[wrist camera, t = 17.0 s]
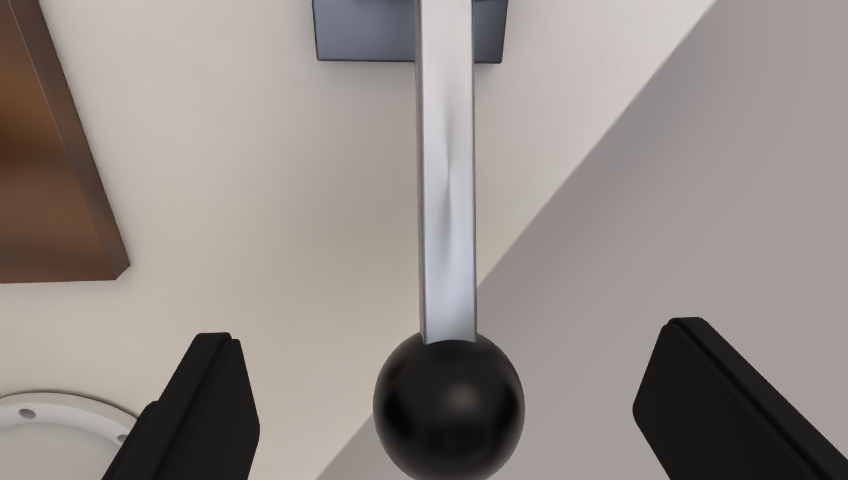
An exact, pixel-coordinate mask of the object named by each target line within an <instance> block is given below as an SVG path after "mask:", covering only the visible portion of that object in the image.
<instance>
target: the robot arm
mask: <svg viewBox="0 0 848 480" xmlns="http://www.w3.org/2000/svg"><path fill="white" fill-rule="evenodd" d="M633 416H634V419H635V421H636V423H637V425H638V427H639V428H640V430H641V432H642V433H643V435H644V436H645V438H646V440H647V442H648V443H649V445H650V446H651V448H652V450H653V452H654V453H655V455H656V457H657V458H658V460H659V462H660V463H661V465H662V467H663V468H664V469H665V472H666V473H667V475H668V477H669V478H670V480H848V460H847V459H846V458H845V457H844V456H843V455H842V454H841V453H840V452H839V451H838V450H837V449H836V448H835V447H834V446H833V445H832V444H831V443H830V442H829V441H828V440H827V439H826V438H825V437H824V436H823V435H822V434H821V433H820V432H819V431H818V430H817V429H815V428H814V426H813V425H811V423H810V422H808V420H806V419H805V418H804V417H803V416H802V415H801V414H800V413H799V412H798V411H797V410H796V409H795V408H794V407H793V406H792V405H791V404H790V403H789V402H788V401H787V400H786V399H785V398H784V397H783V396H782V395H781V394H780V393H779V392H778V391H777V390H776V389H775V388H774V387H773V386H772V385H771V384H770V383H769V382H768V381H767V380H766V379H765V378H764V377H763V376H761V375H760V373H758V372H757V371H756V370H755V369H754V368H753V367H752V366H751V365H750V364H749V363H748V362H747V361H746V360H745V359H744V358H743V357H742V356H741V355H740V354H739V353H738V352H737V351H736V350H735V349H734V348H733V347H732V346H731V345H730V344H729V343H728V342H727V341H726V340H725V339H724V338H723V337H722V336H720V334H719V333H718V332H717V331H716V330H714V328H712V326H710V324H708V323H707V322H706V321H705V320H704V319H702V318H699V317H684V318H672V319H671V320H669V322H668V323H667V325H664V326H663V327H662V329H661V331H660V334H659V337H658V339H657V342H656V344H655V347H654V350H653V353H652V355H651V358H650V361H649V363H648V366H647V369H646V371H645V374H644V377H643V379H642V382H641V385H640V387H639V390H638V393H637V396H636V398H635V401H634V404H633ZM259 436H260V424H259V419H258V415H257V411H256V407H255V402H254V398H253V394H252V390H251V386H250V381H249V377H248V373H247V369H246V365H245V360H244V356H243V352H242V348H241V344H240V341H239V340H238V339H232V338H231V335H230V334H229V333H227V332H222V333H199V334H198V335H196V337H195V338H194V340H193V341H192V343H191V345H190V346H189V348H188V350H187V352H186V353H185V355H184V357H183V359H182V360H181V362H180V364H179V365H178V367H177V369H176V371H175V372H174V374H173V376H172V378H171V379H170V381H169V383H168V384H167V386H166V388H165V390H164V391H163V393H162V395H161V397H160V398H159V400H158V401H152V402H151V403H150V404H148V405H147V406H146V407H145V409H144V410H143V411H142V413H141V414H140V416H139V418H138V419H136V418H134V417H133V416H131V415H130V414H128V413H126V412H123V411H121V410H119V409H117V408H115V407H113V406H111V405H108V404H105V403H102V402H99V401H96V400H93V399H89V398H84V397H80V396H75V395H69V394H60V393H24V394H18V395H11V396H6V397H3V398H0V480H247V479H248V476H249V472H250V469H251V465H252V462H253V458H254V455H255V452H256V448H257V445H258V441H259Z"/></svg>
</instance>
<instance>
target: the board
mask: <svg viewBox="0 0 848 480" xmlns="http://www.w3.org/2000/svg"><path fill="white" fill-rule="evenodd" d="M129 266H130V263H129V261H128V258H127V255H126V252H125V249H124V246H123V243H122V241H121V238H120V235H119V232H118V229H117V226H116V223H115V221H114V218H113V215H112V212H111V209H110V206H109V204H108V201H107V198H106V195H105V192H104V189H103V186H102V184H101V181H100V178H99V175H98V172H97V169H96V167H95V164H94V161H93V158H92V155H91V152H90V149H89V147H88V144H87V141H86V138H85V135H84V132H83V129H82V127H81V124H80V121H79V118H78V115H77V112H76V110H75V107H74V104H73V101H72V98H71V95H70V92H69V90H68V87H67V84H66V81H65V78H64V75H63V72H62V70H61V67H60V64H59V61H58V58H57V55H56V53H55V50H54V47H53V44H52V41H51V38H50V35H49V33H48V30H47V27H46V24H45V21H44V18H43V16H42V13H41V10H40V7H39V4H38V1H37V0H0V283H34V282H70V281H106V280H116V279H117V278H118V277H119V276H120V275H121V274H122V273H123V272H124V271H125V270H126V269H127V268H128V267H129Z"/></svg>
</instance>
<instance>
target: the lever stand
mask: <svg viewBox="0 0 848 480" xmlns="http://www.w3.org/2000/svg"><path fill="white" fill-rule="evenodd" d="M507 5H508V0H474V63H490V64H500V63H501V62H502V55H503V45H504V35H505V25H506V15H507ZM312 8H313V20H314V31H315V43H316V54H317V60H319V61H366V62H415V21H414V0H312Z"/></svg>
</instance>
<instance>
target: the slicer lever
mask: <svg viewBox="0 0 848 480" xmlns="http://www.w3.org/2000/svg"><path fill="white" fill-rule="evenodd" d="M414 21H415V79H416V138H417V196H418V255H419V313H420V332H419V333H417V334H415V335H413V336H411V337H409V338H408V339H406V340H405V341H404V342H402V343H401V344H400V345H399V346H398V347H397V348H396V349H395V350H394V351H393V352H392V354H391V355H390V356H389V357H388V359H387V360H386V362H385V364H384V365H383V367H382V369H381V371H380V373H379V376H378V379H377V382H376V386H375V391H374V396H373V414H374V422H375V426H376V431H377V434H378V436H379V438H380V441H381V444H382V446H383V448H384V449H385V451H386V453H387V454H388V455H389V457H390V458H391V460H392V461H393V462H394V463H395V464H396V465H397V466H398V467H399V468H400V469H401V470H402V471H403V472H404V473H406V474H407V475H408V476H410V477H412V478H413V479H415V480H486V479H488V478H489V477H491V476H492V475H493V474H495V473H496V472H497V471H498V470H499V469H500V468H501V467H503V466H504V464H505V463H506V462H507V461H508V460H509V458H510V456H511V455H512V453H513V452H514V450H515V448H516V446H517V444H518V441H519V439H520V436H521V433H522V430H523V424H524V415H525V404H524V395H523V390H522V386H521V383H520V380H519V377H518V374H517V372H516V371H515V368H514V367H513V365H512V363H511V362H510V361H509V359H508V358H507V356H506V355H505V354H504V353H503V352H502V350H501V349H500V348H498V347H497V346H496V345H495V344H494V343H493V342H491V341H490V340H489V339H487V338H486V337H484V336H482V335H480V334H478V333H477V303H476V301H477V299H476V195H475V93H474V0H414Z"/></svg>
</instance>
